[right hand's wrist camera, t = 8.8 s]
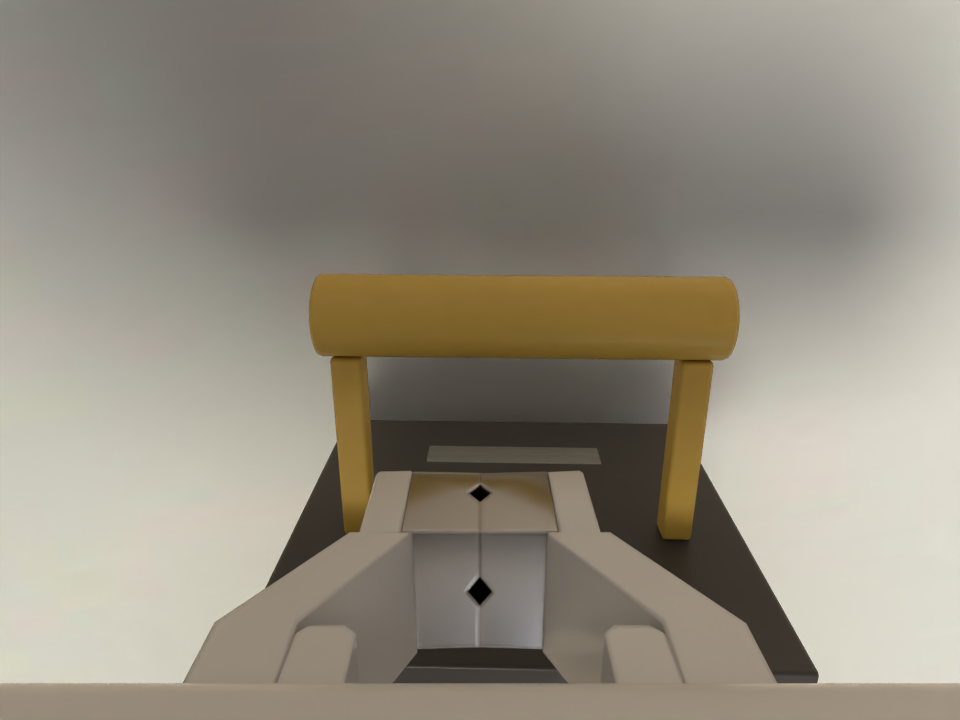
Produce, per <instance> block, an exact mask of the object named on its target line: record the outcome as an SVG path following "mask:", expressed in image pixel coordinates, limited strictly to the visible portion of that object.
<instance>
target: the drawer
mask: <svg viewBox="0 0 960 720" xmlns="http://www.w3.org/2000/svg"><path fill="white" fill-rule="evenodd" d="M739 316H740V314H739V301H738V296H737V291H736V288H735V286H734V284H733V282H732V281H731V280H730V279H728V278H726V277H659V276H525V275H391V274H321V275H319V276H317V277H316V278H315V280H314V283H313V286H312V289H311V294H310V301H309V327H310V334H311V339H312V343H313V346H314V349H315V351H316V352H317V353H318V354H319V355H322V356H333V357H332V358H331V361H330V364H331V376H332V388H333V400H334V412H335V424H336V436H337V442H336V445H335V447H334V449H333V451H332V453H331V455H330V457H329V459H328V461H327V463H326V465H325V467H324V469H323V471H322V473H321V475H320V477H319V479H318V481H317V483H316V485H315V487H314V490H313V492H312V494H311V496H310V498H309V500H308V502H307V504H306V506H305V508H304V510H303V512H302V514H301V516H300V518H299V520H298V522H297V524H296V526H295V528H294V530H293V533H292V535H291V537H290V539H289V541H288V543H287V545H286V547H285V549H284V551H283V553H282V555H281V557H280V559H279V561H278V563H277V565H276V567H275V569H274V571H273V573H272V575H271V578H270V580H269V582H268V584H267V586H266V588H267V587H269V586H270V585H272V584H273V583H275V582H276V581H278V580H279V579H281V578H282V577H284V576H285V575H287V574H288V573H290V572H291V571H293V570H294V569H296V568H297V567H299V566H300V565H302V564H303V563H305V562H306V561H308V560H309V559H311V558H312V557H314V556H315V555H317V554H318V553H320V552H321V551H323V550H324V549H326V548H327V547H329V546H330V545H332V544H333V543H335V542H336V541H338V540H339V539H341V538H342V537H344V536H345V535H347V534H348V533H350V532H360V529H361V525H362V522H363V519H364V515H365V512H366V508H367V505H368V501H369V498H370V494H371V491H372V488H373V484H374V481H375V477H376V475H377V474H378V473H379V472H382V471H412V472H466V473H507V472H561V471H581V472H582V473H583V475H584V478H585V481H586V485H587V488H588V492H589V495H590V498H591V502H592V505H593V509H594V512H595V515H596V519H597V522H598V526H599V529H600V532H610V533H612V534H613V535H615V536H616V537H618V538H619V539H621V540H622V541H624V542H625V543H627V544H628V545H630V546H631V547H633V548H634V549H636V550H637V551H639V552H640V553H642V554H643V555H645V556H646V557H648V558H649V559H651V560H652V561H654V562H655V563H657V564H658V565H660V566H661V567H663V568H664V569H666V570H667V571H669V572H670V573H672V574H673V575H675V576H676V577H678V578H679V579H681V580H682V581H684V582H685V583H687V584H688V585H690V586H691V587H693V588H694V589H696V590H697V591H699V592H700V593H702V594H703V595H705V596H706V597H708V598H709V599H711V600H712V601H714V602H715V603H717V604H718V605H719V606H721V607H722V608H724V609H725V610H727V611H728V612H730V613H731V614H733V615H734V616H736V617H737V618H739V619H740V620H742V621H743V622H745V623H746V624H747V626H748V628H749V630H750V632H751V634H752V635H753V637H754V639H755V641H756V643H757V645H758V647H759V649H760V651H761V653H762V655H763V657H764V659H765V660H766V662H767V664H768V666H769V668H770V670H771V672H772V674H773V676H774V678H775V680H776V682H777V683H817V681H818V677H819V675H818V671H817V670H816V668H815V666H814V664H813V663H812V661H811V659H810V657H809V655H808V654H807V652H806V650H805V648H804V646H803V645H802V643H801V641H800V639H799V638H798V636H797V634H796V632H795V630H794V629H793V627H792V625H791V623H790V622H789V620H788V618H787V616H786V614H785V613H784V611H783V609H782V607H781V605H780V604H779V602H778V600H777V598H776V597H775V595H774V593H773V591H772V589H771V588H770V586H769V584H768V582H767V581H766V579H765V577H764V575H763V573H762V572H761V570H760V568H759V566H758V564H757V563H756V561H755V559H754V557H753V556H752V554H751V552H750V550H749V548H748V547H747V545H746V543H745V541H744V540H743V538H742V536H741V534H740V532H739V531H738V529H737V527H736V525H735V523H734V522H733V520H732V518H731V516H730V515H729V513H728V511H727V509H726V507H725V506H724V504H723V502H722V500H721V499H720V497H719V495H718V493H717V491H716V490H715V488H714V486H713V484H712V482H711V481H710V479H709V477H708V475H707V474H706V472H705V470H704V468H703V466H702V465H701V456H702V448H703V440H704V433H705V425H706V418H707V410H708V403H709V395H710V387H711V380H712V372H713V363H712V362H711V360H724V359H727V358H728V357H729V356H730V355H731V353H732V351H733V349H734V347H735V344H736V340H737V336H738V330H739ZM366 357H460V358H553V359H646V360H675V362H674V371H673V380H672V389H671V399H670V408H669V417H668V424H617V423H542V422H466V421H391V420H370V406H369V390H368V374H367V358H366ZM266 588H265V589H266ZM393 683H567V681H566V680H565V679H564V678H563V676H562V675H561V674H560V673H559V671H558V670H557V669H556V668H555V666H554V665H553V664H552V663H551V662H550V660H549V659H548V658H547V657H546V655H545V654H544V653H543V649H522V648H486V647H472V648H437V649H417V654H416V655H415V656H414V657H413V658H412V660H411V661H410V662H409V663H408V665H407V666H406V667H405V668H404V670H403V671H402V672H401V673H400V675H399V676H398V677H397V678H396V679H395V681H394V682H393Z"/></svg>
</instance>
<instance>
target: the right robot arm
mask: <svg viewBox="0 0 960 720" xmlns="http://www.w3.org/2000/svg"><path fill="white" fill-rule="evenodd" d="M472 647H486V648H522V649H543V653H544V654H545V655H546V657H547V658H548V659H549V660H550V662H551V663H552V664H553V665H554V666H555V668H556V669H557V670H558V671H559V673H560V674H561V675H562V676H563V678H564V679H565V680H566V681H567V683H393V682H394V681H395V679H396V678H397V677H398V676H399V675H400V673H401V672H402V671H403V670H404V668H405V667H406V666H407V665H408V663H409V662H410V661H411V660H412V658H413V657H414V656H415V655H416V654H417V649H437V648H472ZM0 720H960V683H777V682H776V680H775V678H774V676H773V674H772V672H771V670H770V668H769V666H768V664H767V662H766V660H765V659H764V657H763V655H762V653H761V651H760V649H759V647H758V645H757V643H756V641H755V639H754V637H753V635H752V634H751V632H750V630H749V628H748V626H747V624H746V623H745V622H743V621H742V620H740V619H739V618H737V617H736V616H734V615H733V614H731V613H730V612H728V611H727V610H725V609H724V608H722V607H721V606H719V605H718V604H717V603H715V602H714V601H712V600H711V599H709V598H708V597H706V596H705V595H703V594H702V593H700V592H699V591H697V590H696V589H694V588H693V587H691V586H690V585H688V584H687V583H685V582H684V581H682V580H681V579H679V578H678V577H676V576H675V575H673V574H672V573H670V572H669V571H667V570H666V569H664V568H663V567H661V566H660V565H658V564H657V563H655V562H654V561H652V560H651V559H649V558H648V557H646V556H645V555H643V554H642V553H640V552H639V551H637V550H636V549H634V548H633V547H631V546H630V545H628V544H627V543H625V542H624V541H622V540H621V539H619V538H618V537H616V536H615V535H613V534H612V533H610V532H600V529H599V526H598V522H597V519H596V515H595V512H594V509H593V505H592V502H591V498H590V495H589V492H588V488H587V485H586V481H585V478H584V475H583V473H582V472H581V471H561V472H507V473H466V472H412V471H382V472H379V473H378V474H377V475H376V477H375V481H374V484H373V488H372V491H371V494H370V498H369V501H368V505H367V508H366V512H365V515H364V519H363V522H362V525H361V529H360V532H350V533H348V534H347V535H345V536H344V537H342V538H341V539H339V540H338V541H336V542H335V543H333V544H332V545H330V546H329V547H327V548H326V549H324V550H323V551H321V552H320V553H318V554H317V555H315V556H314V557H312V558H311V559H309V560H308V561H306V562H305V563H303V564H302V565H300V566H299V567H297V568H296V569H294V570H293V571H291V572H290V573H288V574H287V575H285V576H284V577H282V578H281V579H279V580H278V581H276V582H275V583H273V584H272V585H270V586H269V587H267V588H266V589H264V590H263V591H261V592H260V593H258V594H257V595H255V596H254V597H252V598H251V599H249V600H248V601H246V602H245V603H243V604H242V605H240V606H239V607H237V608H236V609H234V610H233V611H231V612H230V613H228V614H227V615H225V616H224V617H222V618H221V619H219V620H218V621H216V622H215V623H214V625H213V627H212V628H211V630H210V632H209V634H208V636H207V638H206V640H205V642H204V644H203V646H202V647H201V649H200V651H199V653H198V655H197V657H196V659H195V661H194V663H193V664H192V666H191V668H190V670H189V672H188V674H187V676H186V678H185V680H184V682H183V683H0Z"/></svg>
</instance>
